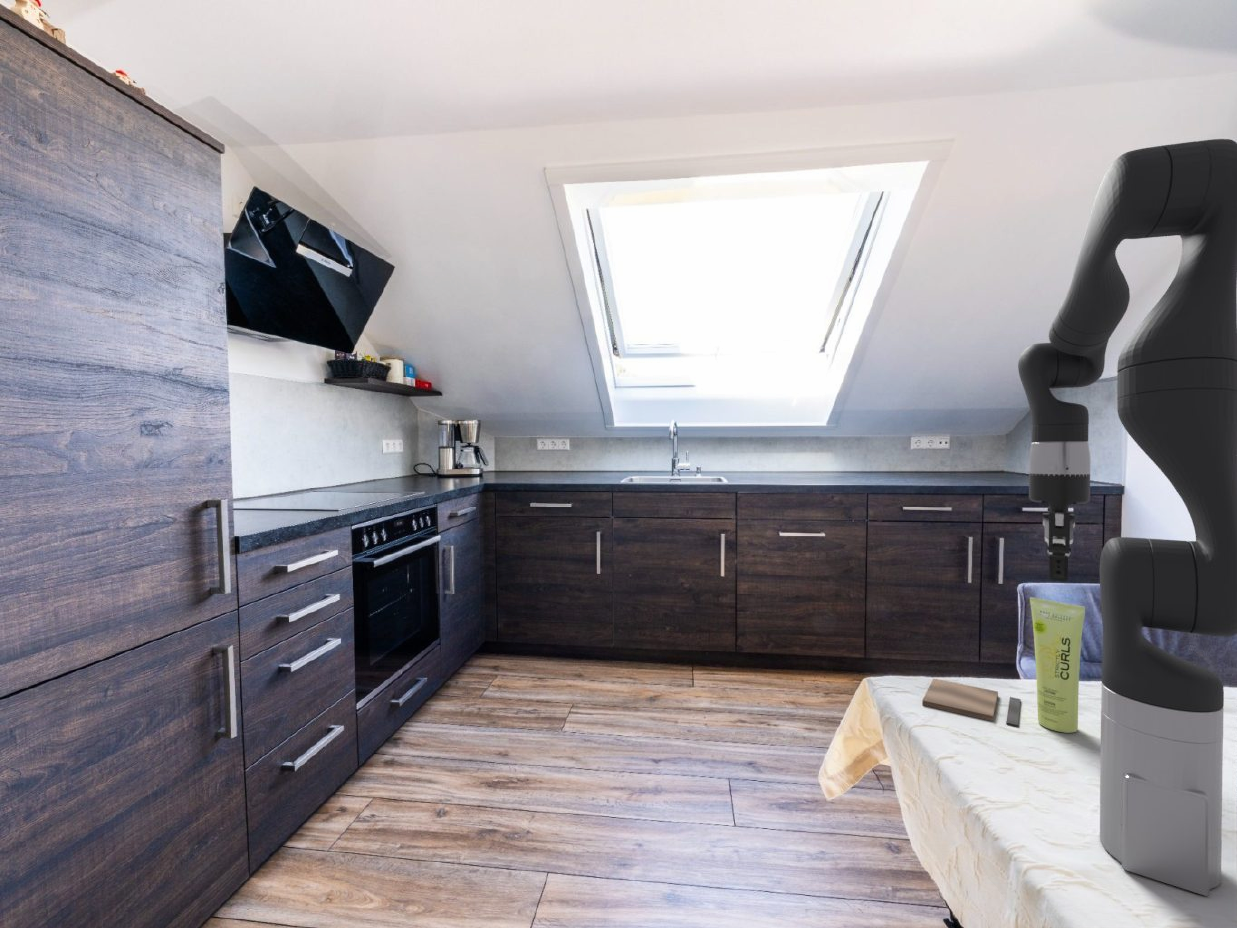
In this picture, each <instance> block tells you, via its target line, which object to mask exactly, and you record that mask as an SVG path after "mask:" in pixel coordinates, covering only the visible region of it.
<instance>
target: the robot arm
mask: <svg viewBox="0 0 1237 928" xmlns="http://www.w3.org/2000/svg"><path fill="white" fill-rule="evenodd" d="M1087 221H1088V222H1087V224H1086V228H1085V232H1084V233H1083V234H1084V235H1083V239H1082V241H1081V245H1080V248H1079V253H1078V256H1077V260H1076V264H1075V268H1074V272H1073V276H1072V279H1071V282H1070V284H1069V286H1068V287H1069V288H1068V290H1067V292H1066V295H1065V296H1064V299H1063V301H1062V303H1061V305H1060V307H1059V309H1058V310H1057V313H1056V315H1055V317H1054V319H1053V322H1052V323H1051V325H1050V328H1049V330H1048V340H1049V342H1043V343H1042V342H1040V343H1034V344H1031V345H1029V346H1028V347H1026V348H1025V349H1024V350H1023V351H1022V353H1021V354H1020V356H1019V359H1018V363H1017V367H1018V375H1019V378H1020V381H1021V384H1022V387H1023V390H1024V392H1025V395H1026V399H1027V403H1028V406H1029V411H1030V416H1031V417H1030V418H1031V439H1030V440H1031V441H1030V442H1031V445H1030V451H1029V464H1028V465H1029V467H1028V475H1029V476H1028V477H1029V478H1028V498H1029V500H1030V501H1032V502H1034V503H1035V502H1036V503H1042V504H1043V503H1045V504H1048V507H1047V512H1046V513H1045V512H1043V513H1042V526H1043V527H1044V542H1046V543H1047V548H1046V549H1047V554H1048V572H1049V573H1048V574H1049V575H1048V577H1049V579H1050V580H1051V581H1054V582H1062V583H1063V582H1067V581H1068V580H1069V557H1070V555H1071V552H1072V548H1071V547H1070V546H1071V545H1072V544H1073V543H1074V528H1075V527H1076V515H1075V514H1071V513H1070V512H1069V506H1071V505H1073V504H1074V505H1080V504H1081V505H1082V504H1084V505H1085V504H1087V503H1090V501H1091V452H1090V445H1089V424H1090V423H1089V421H1090V420H1089V419H1090V416H1089V414H1090V413H1089V409H1088V408H1087V407H1086V405H1083V404H1080V403H1076V402H1070V401H1069V402H1068V401H1062V400H1059V399H1058V398H1056V397H1055V396H1054V394H1053V393H1052V391H1051V390H1050V389H1062V388H1063V389H1066V388H1067V389H1068V388H1072V389H1073V388H1075V389H1076V388H1083V387H1088V386H1090V385H1092V384H1094V383H1095V382H1097V381H1098V380H1100V378H1101V377H1102V375H1103V373H1104V370H1105V364H1106V363H1105V360H1106V352H1107V347H1108V343H1109V340H1110V338H1111V337H1112V335H1113V333H1114V332H1115V330H1116V328H1117V327H1118V325H1119V324H1120V322H1121V321H1122V319H1123V317H1124V316H1125V314H1126V313H1127V310H1128V307H1129V303H1130V299H1131V298H1130V297H1131V295H1130V286H1129V284H1128V281H1127V279H1126V277H1125V275H1124V273H1123V271H1122V269H1121V267H1120V265H1119V263H1118V260H1117V256H1116V250H1117V248H1118V246H1120V244H1121V243H1122V241H1124V240H1138V239H1139V240H1141V239H1150V238H1151V239H1152V238H1161V237H1162V238H1163V237H1174V236H1180V239H1181V243H1182V244H1181V247H1182V248H1181V255H1180V261H1179V265H1178V268H1177V272H1176V274H1175V276H1174V278H1173V279H1172V282H1171V283H1170V285H1169V287H1168V288H1167V289H1166V291H1165V293H1164V294H1163V295H1162V296H1161V298H1160V299H1159V301H1157V303H1156V304H1155V305H1154V306H1153V308H1152V309H1151V310H1150V311H1149V312H1148V314H1147V315H1146V316H1145V317H1144V319H1143V320H1142V321H1141V322H1140V323H1139V324H1138V326H1137V327H1136V329H1134V331H1133V333H1132V334H1131V335H1130V336H1129V338H1128V339H1127V340H1126V342H1125V344H1124V346H1123V347H1122V349H1121V351H1120V354H1119V356H1118V359H1117V368H1116V369H1117V370H1116V371H1117V375H1116V378H1117V381H1116V383H1117V384H1116V385H1117V386H1116V387H1117V389H1116V391H1117V392H1116V394H1117V397H1116V398H1117V399H1116V402H1117V403H1116V404H1117V406H1116V407H1117V410H1116V411H1117V415H1118V418H1119V420H1120V423H1121V425H1122V426H1123V427H1124V429H1125V430H1126V432H1127V433H1128V435H1129V436H1130V437H1131V438H1132V440H1133V441H1134V442H1135V443H1136V444H1137V446H1138V447H1139V448H1140V449H1141V450H1142V452H1143V453H1145V455H1146V456H1147V457H1148V459H1150V460H1151V461H1152V462H1153V464H1155V465H1156V466H1157V467H1158V469H1159V470H1160V471H1161V472H1162V474H1163V475H1164V476H1165V477H1166V478H1167V479H1168V481H1169V482H1170V484H1171V486H1173V489H1175V491H1176V492H1177V494H1178V495H1179V497H1180V498H1181V500H1182V502H1183V503H1184V506H1185V507H1186V509H1187V512H1188V513H1189V516H1190V518H1191V521H1192V525H1193V529H1194V533H1195V540H1194V541H1193V540H1190V541H1189V540H1175V539H1163V538H1145V537H1130V536H1128V537H1127V536H1126V537H1124V536H1115V537H1113V538H1110V539H1108V540H1107V542H1106V543H1105V544H1104V545H1103V547H1102V549H1101V554H1100V559H1099V588H1100V589H1099V590H1100V593H1099V594H1100V605H1101V621H1102V623H1101V624H1102V655H1101V656H1102V657H1101V658H1102V662H1101V695H1100V697H1101V699H1100V700H1101V701H1100V703H1101V705H1100V706H1101V708H1100V709H1101V711H1100V768H1099V773H1100V775H1099V776H1100V778H1099V779H1100V781H1099V782H1100V783H1099V840H1100V843H1101V845H1102V846H1103V848H1104V849H1105V851H1107V853H1108V854H1110V855H1111V856H1112V857H1113V858H1115V860H1117V861H1118V862H1120V864H1121V868H1122V869H1123V870H1124V871H1127V872H1131V873H1133V874H1137V875H1140V876H1143V877H1146V878H1148V879H1153V880H1156V881H1158V882H1162V883H1165V884H1167V885H1171V886H1175V887H1177V888H1180V889H1183V890H1187V891H1190V892H1192V893H1197V894H1199V895H1202V896H1206V897H1208V896H1209V895H1210V890H1211V889H1215V888H1218V887H1219V885H1220V884H1221V882H1222V844H1223V843H1222V834H1223V833H1222V832H1223V831H1222V830H1223V829H1222V827H1223V823H1222V821H1223V760H1224V759H1223V755H1224V754H1223V752H1224V751H1223V749H1224V704H1225V703H1224V701H1225V696H1224V694H1225V693H1224V692H1225V691H1224V685H1223V681H1222V680H1221V679H1220V678H1219V677H1218V676H1217V674H1215V673H1213V672H1212V671H1210V670H1209V669H1207V668H1206V667H1203V666H1201V665H1199V664H1197V663H1194V662H1191V661H1189V660H1187V659H1185V658H1183V657H1179V656H1176V655H1175V654H1172V653H1170V652H1168V651H1166V650H1164V649H1162V648H1161V647H1158V645H1155V644H1154V643H1152V642H1151V641H1149V640H1148V639H1147V638H1145V637H1144V635H1143V634H1142V628H1150V629H1157V630H1165V631H1172V632H1179V633H1190V634H1196V635H1202V636H1204V635H1205V636H1212V637H1222V638H1223V637H1225V638H1229V637H1233V636H1236V635H1237V141H1235V140H1233V139H1228V138H1213V139H1205V140H1197V141H1196V140H1194V141H1189V142H1187V141H1186V142H1181V143H1174V144H1172V143H1171V144H1165V145H1157V146H1150V147H1145V148H1138V149H1134V150H1129V151H1127V152H1124V153H1123V154H1121V155H1119V156H1118V157H1117V158H1116V159H1115V160H1114V161H1113V162H1112V163H1111V165H1110V166H1109V168H1108V169H1107V171H1106V173H1105V174H1104V176H1103V178H1102V181H1101V182H1100V185H1099V188H1098V190H1097V193H1096V195H1095V198H1094V200H1093V204H1092V208H1091V211H1090V215H1089V218H1088V220H1087Z"/></svg>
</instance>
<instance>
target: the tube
mask: <svg viewBox="0 0 1237 928" xmlns="http://www.w3.org/2000/svg"><path fill="white" fill-rule="evenodd" d="M1029 604H1030V609H1031V610H1030V611H1031V619H1032V627H1033V629H1032V630H1033V641H1034V642H1033V643H1034V657H1035V660H1034V661H1035V674H1036V675H1035V677H1036V695H1037V696H1036V697H1037V699H1036V701H1037V703H1036V704H1037V721H1038V724H1040V725H1041V726H1043V727H1044V728H1046V729H1048V730H1052V731H1054V732H1059V733H1065V734H1066V733H1067V734H1073V733H1075V732H1076V733H1077V731H1078V727H1079V687H1080V685H1079V684H1080V666H1081V665H1080V663H1081V649H1082V638H1083V637H1082V636H1083V629H1084V628H1083V627H1084V621H1085V615H1086V606H1084V605H1077V604H1071V603H1065V602H1059V601H1055V600H1049V599H1043V598H1038V597H1037V598H1036V597H1032V596H1030V597H1029Z"/></svg>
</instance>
